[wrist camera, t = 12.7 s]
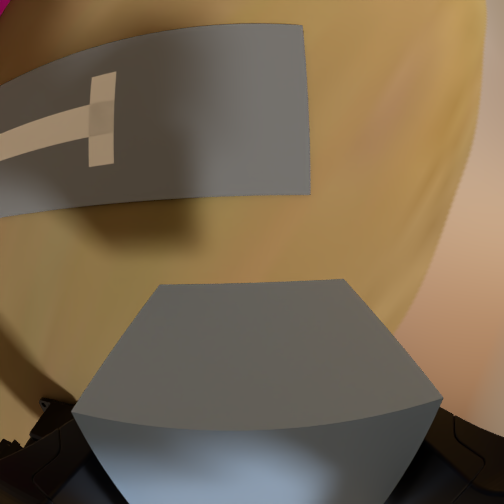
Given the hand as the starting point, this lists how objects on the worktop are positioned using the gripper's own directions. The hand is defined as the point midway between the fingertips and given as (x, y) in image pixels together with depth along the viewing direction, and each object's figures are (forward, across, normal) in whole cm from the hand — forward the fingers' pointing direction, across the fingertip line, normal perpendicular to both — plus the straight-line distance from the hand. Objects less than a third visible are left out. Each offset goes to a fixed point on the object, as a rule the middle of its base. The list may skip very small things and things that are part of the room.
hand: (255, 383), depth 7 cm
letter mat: (+8, +9, -9) cm, 15 cm away
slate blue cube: (+1, 0, 0) cm, 1 cm away
